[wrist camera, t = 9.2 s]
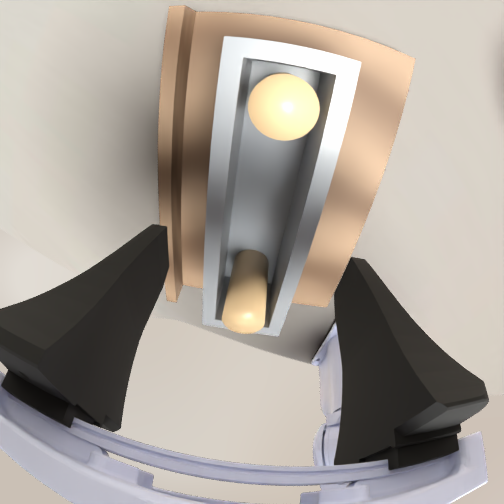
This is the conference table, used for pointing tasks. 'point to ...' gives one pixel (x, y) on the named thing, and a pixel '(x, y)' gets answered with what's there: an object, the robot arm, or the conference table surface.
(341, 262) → the brown piece
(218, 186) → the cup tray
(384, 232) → the conference table surface
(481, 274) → the conference table surface
